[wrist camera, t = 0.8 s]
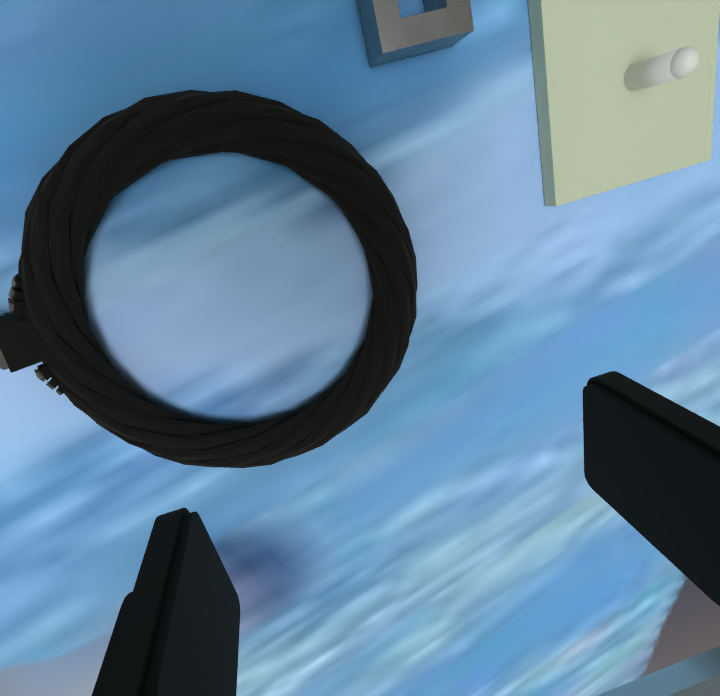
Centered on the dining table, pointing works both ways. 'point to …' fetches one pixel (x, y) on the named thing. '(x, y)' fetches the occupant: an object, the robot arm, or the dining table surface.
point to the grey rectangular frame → (411, 28)
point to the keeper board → (621, 90)
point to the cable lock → (122, 168)
